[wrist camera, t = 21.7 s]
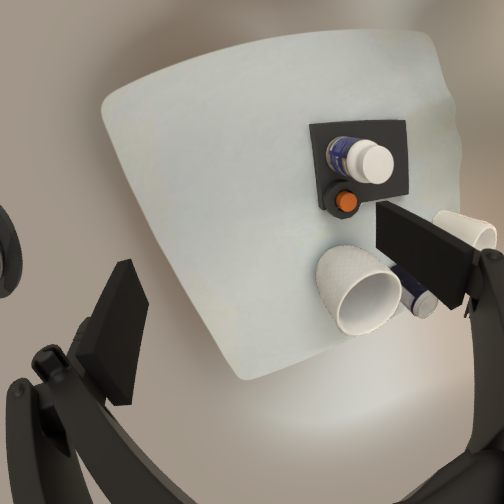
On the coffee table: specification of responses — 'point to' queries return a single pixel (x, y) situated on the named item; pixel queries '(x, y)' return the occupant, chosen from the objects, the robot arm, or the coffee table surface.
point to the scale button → (346, 201)
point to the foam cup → (467, 229)
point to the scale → (333, 183)
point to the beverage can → (415, 294)
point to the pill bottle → (360, 159)
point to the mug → (357, 289)
